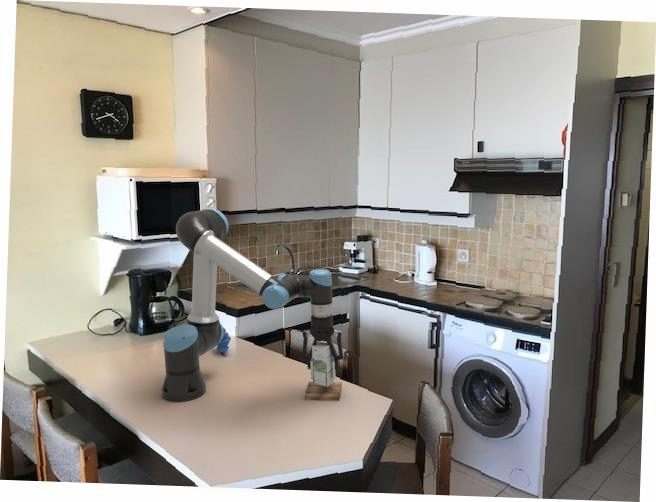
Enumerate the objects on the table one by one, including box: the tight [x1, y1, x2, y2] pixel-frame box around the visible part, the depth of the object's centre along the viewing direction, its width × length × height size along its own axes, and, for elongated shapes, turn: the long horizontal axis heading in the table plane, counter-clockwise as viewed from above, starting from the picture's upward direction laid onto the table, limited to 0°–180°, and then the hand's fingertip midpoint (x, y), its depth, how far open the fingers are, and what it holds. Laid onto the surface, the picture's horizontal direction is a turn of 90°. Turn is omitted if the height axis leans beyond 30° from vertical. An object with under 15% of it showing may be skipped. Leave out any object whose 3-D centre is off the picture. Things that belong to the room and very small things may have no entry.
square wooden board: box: [303, 381, 343, 402], centre depth 184 cm, size 12×12×2 cm
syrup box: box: [311, 341, 335, 387], centre depth 183 cm, size 6×6×14 cm
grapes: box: [215, 327, 232, 355], centre depth 225 cm, size 12×7×12 cm, turn 37°
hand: (323, 377), depth 184 cm, fingers closed on syrup box, 7 cm apart
